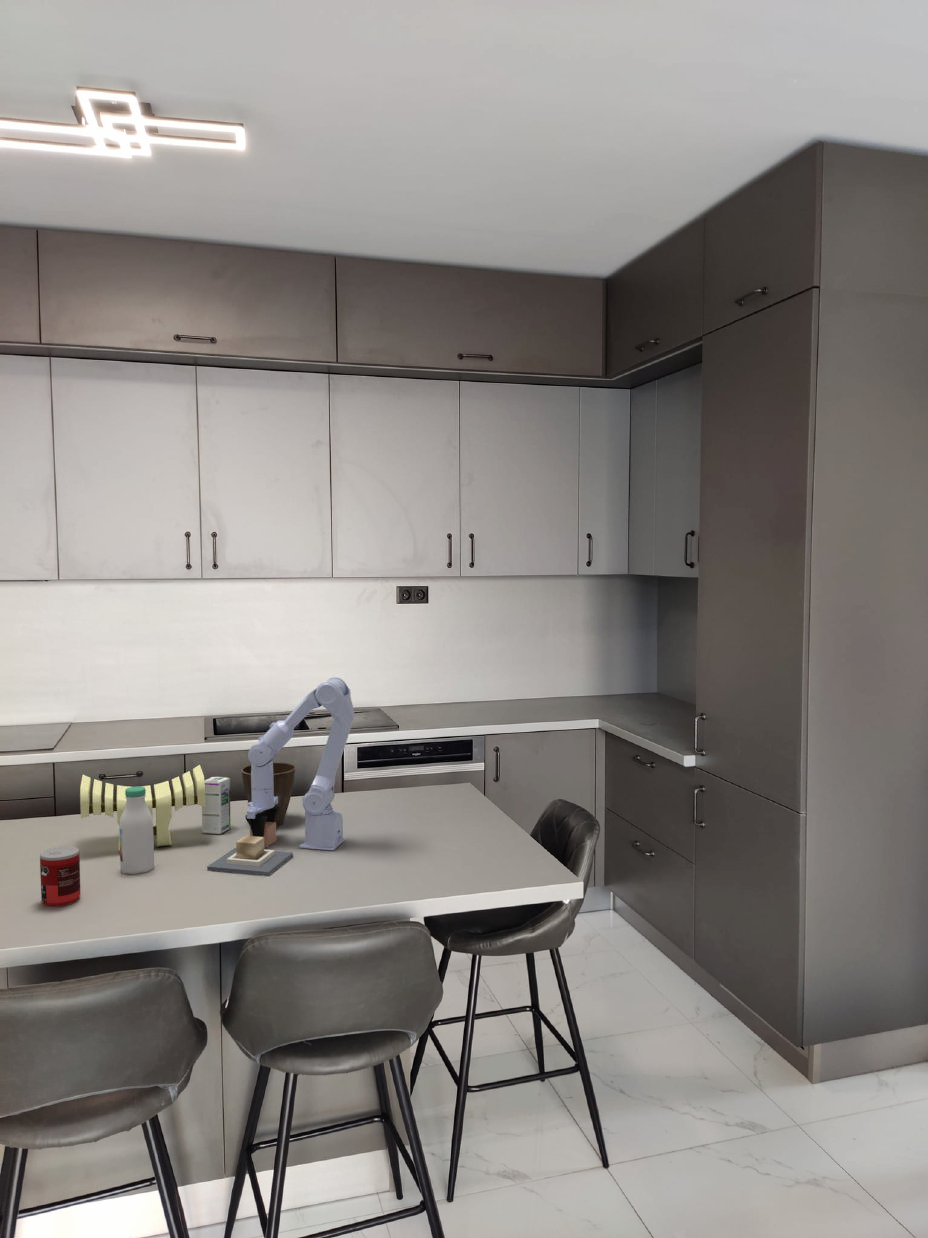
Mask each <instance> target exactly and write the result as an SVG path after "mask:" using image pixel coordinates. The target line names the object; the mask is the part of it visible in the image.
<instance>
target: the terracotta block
mask: <svg viewBox="0 0 928 1238" xmlns="http://www.w3.org/2000/svg"><path fill="white" fill-rule="evenodd" d="M249 836H253V834H252V831H251V828H250V827H249ZM275 842H277V826H276V822H266V823H265V828H264V846H268V847H269V845H270V844H271V845H273V844H274V843H275ZM271 845H270V846H271Z"/></svg>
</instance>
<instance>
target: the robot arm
mask: <svg viewBox="0 0 928 1238" xmlns="http://www.w3.org/2000/svg"><path fill="white" fill-rule="evenodd" d="M352 701H353V700H352V697H351V688H349V686H348V684H347V683H346V682H345V680H343V679H342V678H340V677H336V676H335V677H331V678H329V679H327V681H325V682H321V683H320V684H318V686H317V687H316V688H315V689H313V690H312V691H310V692H309V693H308V694H307V695H306V696H305V697H304V698H303V699H302V700H301V701H300V703H299V704H297V706H296V707H295V708H294V709H293V710H292V712H291V713H290V714H289V715H288V716H287V717H286V719H284V720H277V721H276V722H272V723H271V724H270V725H269V729H268V730H267V731H266V732H265V734H263V736H262V735H261V736H260V737H258V738H257V740H258V742H257V743H255V744H252V745H251V747H250V748H249V750H248V753H247V759H248V760H249V763H250V765H251V789H252V802H249V803H248V802H247V807H249V806H250V807H249V808H248V809H247V810H246V814H245V820H246V822H247V823H248V824H247V825H249V829H250V828H251V831H252V834H253V836H255V837H264V828H265V823H266V822H275V820H276V817H277V814H278V812H279V811H280V807H277V806H275V804H278V797H276V796H274V784H273V763H274V759H275V757H276V756H277V753H279V752H280V751H281V749H283V748H284V747H285V745H286V744H287V743H288V742H289V741H290V740H291V739H292V738H293V737H294V734H295V728H296V726H297V725H299V724H300V723H301V722H302V721H303V720H304V719H305V718H306V717H307V716H308V714H310V713H311V712H312V710H314V709H319V708H321V707H323V708H325V709H326V710H327V712H329V714H330V716H331V717H332V719H333V721H332V725H331V728H330V730H329V731H330V732H329V735H328V736H327V740H326V744H325V746H324V750H323V752H322V753H323V754H322V756H321V759H320V762H319V764H318V767H317V768H318V769H317V771H316V775H315V777H314V779H313V780H312V783H311V784H310V788H309V789H308V790H307V792H306V793H305V794H304V796H303V798H302V807H303V809H304V829H305V830H304V833H305V836H304V838H305V839H304V842H302V843H301V844H300V845H299V848H300V849H308V850H309V849H312V850H321V851H322V850H324V851H335V850H336V849H337V848H338V847H339V846H340V845H341V844H342V843H344V842H345V840H344V829H343V827H344V822H343V821H344V820H343V815H342V813H340V812H337V811H333V810H334V808H333V806H332V802H333V800H334V798H335V790H334V789H335V784H336V776H337V772H338V770H339V766H340V764H341V763H340V762H341V760H342V756H343V753H344V750H345V747H346V744H347V741H348V738H349V735H350V731H351V729H352V726H353V724H354V723H353V722H354V719H355V715H356V714H355V710H354V705H353V702H352Z"/></svg>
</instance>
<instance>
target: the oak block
mask: <svg viewBox="0 0 928 1238" xmlns="http://www.w3.org/2000/svg"><path fill="white" fill-rule="evenodd" d="M235 848H236V858H237V859H249V860H258V859H260V858H261V857H262V856H264V850H265V847H264V837H255V836H250V835H245V836H243V837H241V838H240V839H238V840H237V841H236V842H235Z"/></svg>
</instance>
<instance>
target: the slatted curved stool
mask: <svg viewBox="0 0 928 1238" xmlns="http://www.w3.org/2000/svg"><path fill="white" fill-rule="evenodd" d="M192 776H193V779H192ZM181 777H182V783H183V786H182V783H181V780H180V776H177V777H174V778H172V779H171V785H172V791H173V795H172V792H171V788H170V783H169V780H166V781H163V782H160V783H156V784H153V792H154V797H153V795H152V789H151V785H143V786H142V785H141V787H145V790H146V793H145V795H146V796H145V802H146V805H147V807H148V809H149V811H150V813H151V816H152V820H153V821H154V819H153V808H155V825H153V837H154V836H155V841H156V847H164V846H172V839H171V838H172V837H171V831H170V829H169V826H170V823H171V820H172V817H173V815H172V814H173V813H172V812H173V811H172V810H173V809H172V808H173V807H172V806H174V812H177V811H178V810H180V809H182V808H184V805H186V807H189V806H195V804H197V806H201V807H202V806H205V781H204V780H205V775H204V772H203V770H202V767H201V764H198V765H197V766H195V767H193V769H192V775H191V772H190V771H187V772H185V773H183V774H182V776H181ZM91 780H92V779H91V777H90V776H87V775H85V774H82V777H81V782H80V789H79V790H80V791H79V792H80V793H79V798H80V799H79V800H80V801H79V804H80V819H85V818H87V817H90V814H92V815H93V816H96V815H98V816H99V815H102V813H104V815H105V816H109V817H110V818H114V812H116V820H117V821H116V822H117V824H118V827H119V828H120V819H121V816H122V813H123V811H124V809H125V806H126V801H127V799H126V798H125V797H126V795H125V790H126V789H127V788H130V787H131V786H128V785H127V786H125V785H118V784H117V785H116V801H114V783H113V784H112V783H110V782H105V786H104V787H105V790H104V802H102V798H103V797H102V794H103V781H101V780H99V779H95V778H94V780H93V786H92V803H90V796H91V785H92V784H91ZM193 780H194V782H193ZM194 784H195V785H194ZM194 786H195V787H194ZM183 788H184V795H183ZM117 846H118V849H117V850H118V851H119V852H120V834H118V845H117Z"/></svg>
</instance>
